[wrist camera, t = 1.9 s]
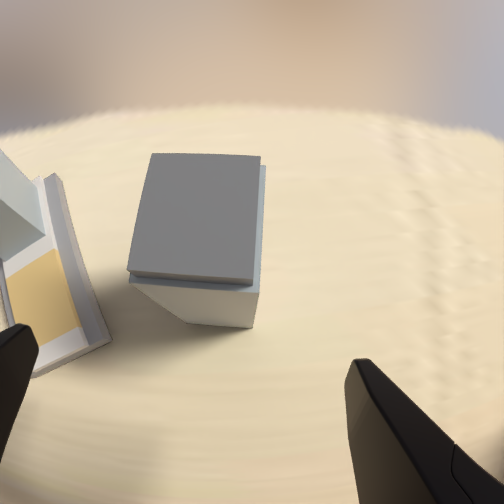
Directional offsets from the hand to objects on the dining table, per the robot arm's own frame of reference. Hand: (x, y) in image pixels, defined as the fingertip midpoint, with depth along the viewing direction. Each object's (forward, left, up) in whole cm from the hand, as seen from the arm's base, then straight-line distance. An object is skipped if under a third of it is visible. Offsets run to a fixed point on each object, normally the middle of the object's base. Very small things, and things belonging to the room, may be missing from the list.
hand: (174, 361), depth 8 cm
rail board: (-4, +13, -11) cm, 18 cm away
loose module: (+4, +3, -11) cm, 12 cm away
